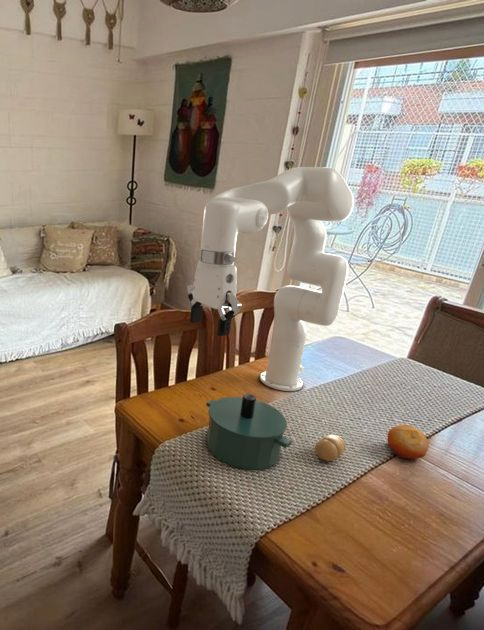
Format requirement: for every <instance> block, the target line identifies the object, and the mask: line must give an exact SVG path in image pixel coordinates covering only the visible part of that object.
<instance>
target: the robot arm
mask: <svg viewBox="0 0 484 630" xmlns="http://www.w3.org/2000/svg"><path fill="white" fill-rule="evenodd" d="M354 206H355V197H354V194H353V191H352V190H351V188H350V186H349V185H348V182H347V181H346V180H345V178H344V176H343V175H342V174H341V173H340V172H339V171H338V170H337V169H335V168H333V167H329V166H328V167H327V166H298V167H292V168H290V169H287V170H285V171H283V172H281V173H280V174H277V175H276V176H273V177H272V178H270V179H268V180H265V181H259V182H256V183H251V184H247V185H243V186H238V187H234V188H230V189H227V190H225V191H223V192H220V193H219V194H217V195H215V196H214V197H212V198H211V199H210V200H209V201H207V202H206V204H205V206H204V210H203V218H202V230H201V237H200V239H201V240H200V250H199V260H198V262H197V266H196V269H195V273H194V277H193V278H194V279H193V283H192V284H189V285H187V286H186V291H187V294H188V295H187V298H188V300H189V306H190V314H189V315H190V317H189V323H190V324H194V323H201V322H202V320H203V311H204V306H206V307H209V308H211V309H214V310H217V312H218V314H219V317H220V318H219V319H218V321H217V332H216V335H217V336H218V337H225V336H229V335H230V333H231V327H232V320H233V319H235V317H236V316H237V315H238V314H239V312H240V310H241V308H242V307H243V305H242V303H241V302H240V301H239V299H238V298H237V288H238V284H237V283H238V277H237V275H238V274H237V273H238V272H237V266H236V265H234V264H235V262H236V260H237V258H236V247H237V240H238V239H237V238H238V234H254V233H255V234H256V233H258V232H259V231H261V230H262V229H264V227H265V226H266V225H267V223H268V220H269V216H271V215H278V214H280V213H282V212H284V211H286V212H287V214H288V216H289V219H290V220H291V223H292V226H293V238H292V242H291V243H292V244H291V248H290V252H289V257H288V262H287V266H286V267H287V268H286V275H287V278H288V279H289V280H292V281H293V282H298V283H301V284H306V285H311V286H315V287H320V288H321V290H315V289H311V288H307V287H301V286H297V285H284V286H282V287H280V288H279V289H278V290H277V291H276V292H275V294H274V298H273V312H274V313H273V316H274V317H273V326H272V331H271V333H272V334H271V339H270V345H269V352H268V356H267V364H266V370H265V371H263V372H261V373H260V375H259V379H260V382H261V383H263V384H264V385H265V386H266V387H269V388H271V389H274V390H276V391H277V390H278V391H284V392H295V391H296V392H297V391H299V390H301V389H302V388H303V385H304V382H303V380H302V379H301V378H300V373H302V372H304V371H305V367H304V365H302V362H303V356H304V351H305V344H306V340H307V328H306V325H305V323H304V322H306V323H309V324H313V325H318V326H320V327H321V326H323V327H328V326H330V325H332V324H333V323H334V322H335V321H336V319H337V317H338V314H339V311H340V307H341V303H342V300H343V295H344V292H345V289H346V284H347V280H348V275H349V262H348V260H347V259H346V258H345V257H344V256H342V255H339V254H333V253H327V252H325V247H326V241H327V239H328V238H327V237H328V235H327V229H326V227H325V225H324V223H323V222H331V223H341V222H343V221H346V220H347V219H348V218H349V217H350V216H351V214H352V212H353V210H354ZM203 305H204V306H203Z"/></svg>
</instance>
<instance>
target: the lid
mask: <svg viewBox="0 0 484 630" xmlns="http://www.w3.org/2000/svg"><path fill="white" fill-rule="evenodd" d="M208 416H209V417H210V418H211V420H212V421H213V422H214V423H215V424H216V425H217V426H218V427H220V428H221V429H223V430H225V431H227V432H229V433H231V434H234V435H237V436H240V437H245V438H250V439H271V438H275V437H278V436H280V435H282V434H283V435H284V433H285V432H286V430H287V427H288V421H287V418H286V417H285V415H284V414H283V413H282V412H281V411H279V410H278V409H277V408H275V407H274V406H272V405H270V404H268V403H266V402H264V401H260V400H258V399H257V396H256V395H254V394H251V393H244V394H242V397H241V396H228V397H227V396H226V397H222V398H218V399H216V400H214V402H213V403H212V404H211V405H210V407H208Z"/></svg>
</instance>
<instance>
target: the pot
mask: <svg viewBox="0 0 484 630" xmlns="http://www.w3.org/2000/svg"><path fill="white" fill-rule="evenodd" d="M214 401H215V400H214V399H211V400H209V401H207V402H206V404H205V407H207V408H209V407H210V405H211V404H212V403H213V402H214ZM208 419H209V420H208V424H207V425H208V427H207V433H206V434H207V435H206V443H207V448H208V450H209V451H210V452H211V454H212V455H214V456H215V457H216V458H217V459H219V460H220V461H222V462H223V463H225V464H228V465H230V466H232V467H236V468H238V469H244V470H252V471H258V470H264V469H269V468H271V467H273V466H274V465H275V464H276V463H277V462H278V460H279V457H280V453H281V448H282V447H283V448H284V449H287V448H288V447H290V446H292V445H293V444H292V443H293V440H291V439H290V438H287V437H285V436H284V433H283V434H282V435H280V436H278V437H275V438H271V439H250V438H245V437H240V436H237V435H234V434H231V433H229V432H227V431H225V430H223V429H221V428H220V427H218V426H217V425H216V424H215V423H214V422H213V421H212V420H211V418H210V417H209V418H208Z"/></svg>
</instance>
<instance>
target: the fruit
mask: <svg viewBox="0 0 484 630" xmlns="http://www.w3.org/2000/svg"><path fill="white" fill-rule="evenodd" d="M429 444H430V441H429V440H428V438H427V437H426V435H425V433H424V432H422V431H421V430H419V429H418V428H416V427H414V426H413V425H409V424H400V425H396V426H393V427H391V428H390V429H389V430H388V431H387V444H386V446H388V447H389V449H390V450H391V451H392V453H394V454H395V455H396V457H398V458H400V459H401V458H402V459H415V460H417V459H421V458H424V457H425V456H426V455H427V453H428V451H429Z"/></svg>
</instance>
